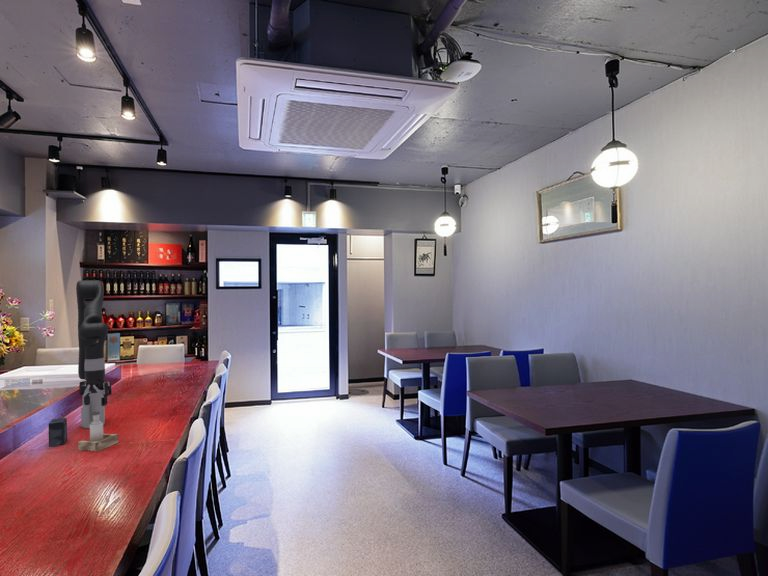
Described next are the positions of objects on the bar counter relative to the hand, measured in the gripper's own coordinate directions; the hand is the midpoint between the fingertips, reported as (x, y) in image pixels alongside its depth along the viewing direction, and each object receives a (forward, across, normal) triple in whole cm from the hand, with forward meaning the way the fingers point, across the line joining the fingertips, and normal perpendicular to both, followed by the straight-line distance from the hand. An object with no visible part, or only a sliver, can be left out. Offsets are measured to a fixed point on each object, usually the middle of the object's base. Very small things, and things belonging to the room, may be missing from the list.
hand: (95, 405), depth 196 cm
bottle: (+17, 0, 0) cm, 17 cm away
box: (+18, -21, +1) cm, 28 cm away
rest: (+18, +1, 0) cm, 18 cm away
